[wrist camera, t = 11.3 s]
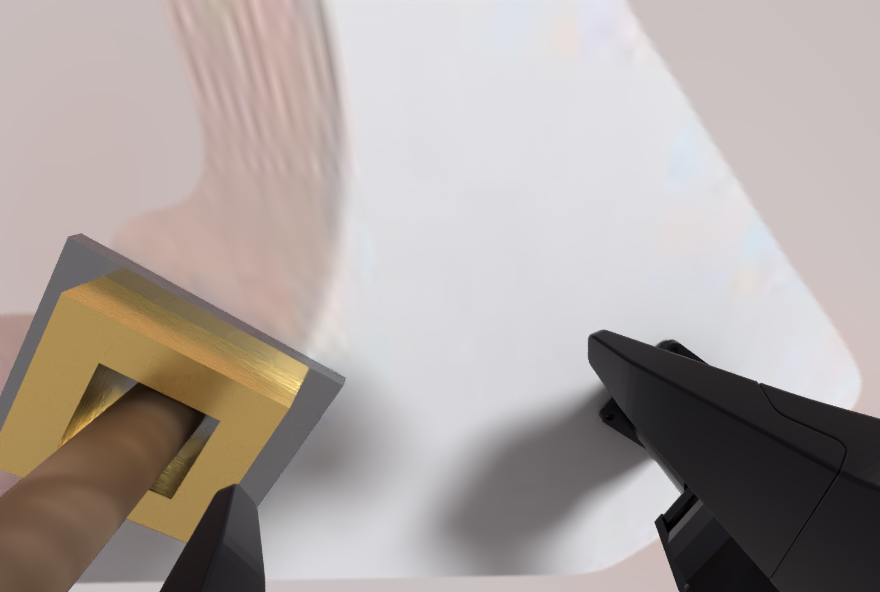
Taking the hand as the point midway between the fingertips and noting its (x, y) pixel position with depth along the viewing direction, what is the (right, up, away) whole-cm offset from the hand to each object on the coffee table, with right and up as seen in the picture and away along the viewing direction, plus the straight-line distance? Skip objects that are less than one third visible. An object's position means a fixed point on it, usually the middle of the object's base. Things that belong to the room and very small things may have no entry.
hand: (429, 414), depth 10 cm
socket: (-15, -3, +14) cm, 21 cm away
